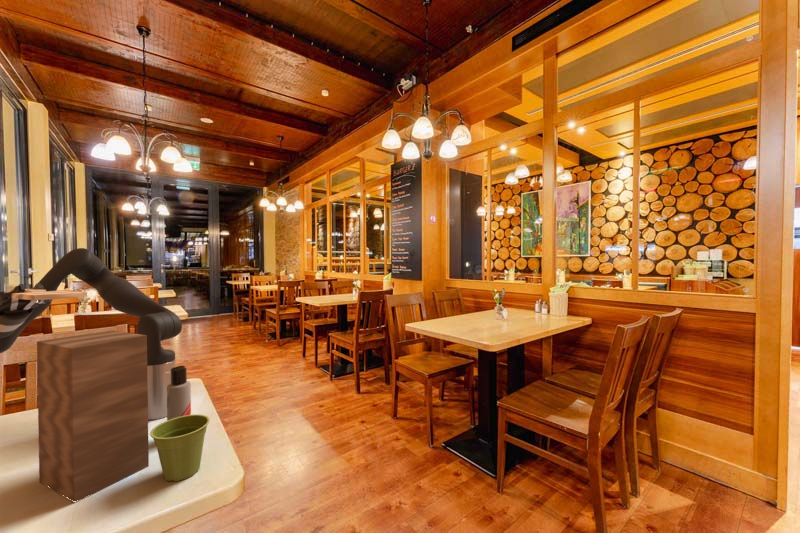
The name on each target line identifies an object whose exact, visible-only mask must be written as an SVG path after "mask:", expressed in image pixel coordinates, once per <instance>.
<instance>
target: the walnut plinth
mask: <svg viewBox="0 0 800 533" xmlns="http://www.w3.org/2000/svg"><path fill="white" fill-rule="evenodd" d="M36 355H37V361H36V364H37V370H36V372H37V411H38V412H37V414H38V415H37V420H38V467H39V468H38V469H39V470H38V472H39V473H38V474H39V478H38V479H39V483H40V484H41V483H42V484H41V485H43V484H45V485H47V486H49V487H50V488H51V489H50V488H49V489H50V490H52V489H53V490H54V492H55V491H56V492H55V493H57V492H58V493H59V495H60V494H61V495H60V496H62V495H64V496H65V497H68V498H69V499H71V500H73V501H77V500H80V499H82V498H84V497H86V496H88V495H90V496H92V495H94V494H97V493H98V492H100V491H102V490H103V489H107V488H108V487H110V486H112V485H114V484H116V483H118V482H120V481H123V480H124V479H127V478H128V477H130V476H132V475H134V474H136V473H139V472H140V471H142V470H144V469H146V468H148V467H149V466H150V463H149V462H150V460H149V456H150V455H149V454H150V453H149V420H148V379H147V335H141V334H137V333H133V332H125V331H120V330H111V329H109V330H104V331H97V332H96V331H95V332H90V333H84V334H79V335H70V336H64V337H58V338H53V339H51V338H50V339H44V340H39V341H36ZM45 485H44V486H45ZM53 490H52V491H53ZM58 493H57V494H58ZM91 494H92V495H91ZM65 497H64V498H65ZM88 497H89V496H88ZM86 498H87V497H86ZM84 499H85V498H84ZM82 500H83V499H82ZM80 501H81V500H80Z"/></svg>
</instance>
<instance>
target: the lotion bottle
mask: <svg viewBox="0 0 800 533" xmlns="http://www.w3.org/2000/svg"><path fill="white" fill-rule="evenodd" d="M187 369H188V368H187V367H186V366H185V365H177V366H175V367H174V368H172V369H171V384H169V385H168V386H167V416H166V421H168V420H171V419H173V418H177V417H181V416H186V415H192V400H191V399H192V394H191V391H192V389H191V387H192V386H191V381H188V378H187V377H188V376H187V374H188V373H187V371H188V370H187Z"/></svg>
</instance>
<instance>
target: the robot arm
mask: <svg viewBox="0 0 800 533" xmlns="http://www.w3.org/2000/svg"><path fill="white" fill-rule="evenodd" d="M70 275H72V276H74V277H75V278H77V279H78V280H80V281H82V282H83V283H86V284H87V285H89V286H91V287H92V288H93V289H94V290H96V291H97V292H98V293H97V294H98V295H99V297H101V299H102V300H103V301H104V302H105V303H107V305H109V306H110V307H111V308H113V309H114V310H116V311H118V312H120V313H123V314H126V315H129V316H133V317H137V318H139V319H138V322H137V325H136V334H141V335H147V379H148V421H149V420H151V421H152V420H153V421H154V420H159V419H163V418H165V417H166V418H167V386H168V385H169V384H171V369H172V368H174V367H176V352H175V351H174V350H172V349H164V348H163V347H162V343H161V342H162V341H166V340H169V339H174V338H176V337H177V336H179V334H180V333H181V332H182V329H183V325H182V324H183V323H182V320H181V318H180V317H179V316H178V315H177V314H176V313H175V312H173V311H172V310H170V309H169V308H167V307H165V306H163V305H161V304H160V303H158V302H156V301H155V300H154V299H152V298H151V297H149V296H148V295H147V294H145V293H144V292H142V290H140V289H139V288H138V287H137V286H135V285H134V284H133V283H132V282H130V281H128V279H125V278H124V277H121V276H117V275H116V274H115V273H113V272H112V271H111V270H110V269H109V268H108V266H107V265H106V264H105V263H104V262H103V261H102V260H101V258H99V257H98V256H97V255H95V254H94V253H93V252H92V251H91V250H89V249H88V248H85V247H84V248H83V247H78V248H75V249H72V250H70V251H69V252H66V254H64V255H63V256H62V257H61V258H60V259H59V260H58V261H57V262H56V263H55V264H54V265H53V266H52V267H51V268H50V269H49V270H48V271H47V273H46V274H45V275H44V276H43V277H42V278H41V279H40V280H39V281H38V282H36V283H35V285H34V286H33V287H32V288H31V289H40V290H46V291H58V289H59V287H60V285H61V283H63V281H64V280H65V279H66V278H67V277H68V276H70ZM25 289H26V287H25V284H24V283H19V284H18V285H16V286H14V288H13V289H12V290H10V291H8V292H7V291H0V354H2V353H5V352H6V351H8V350H9V349H11V347H12V346H13V345H14V343H15V342H16V341H17V339H18V337H19V336H20V334H21V333H22V332H23V331H24V330H25V328H26V327H27V326H28V325H30V324H31V322H33V321H34V320H36V319H37V317H39V316H40V315H41V314H42V313H44V311H46V310H47V308H48V307H49V306H51V304H52V302H53V300H54V299H47V300H25V299H16V298H12V293H24V291H25Z"/></svg>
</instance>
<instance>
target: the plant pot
mask: <svg viewBox="0 0 800 533" xmlns="http://www.w3.org/2000/svg"><path fill="white" fill-rule="evenodd" d="M208 424H210V417H209V416H208V415H205V414H191V415H186V416H181V417H177V418H173V419H171V420H168V421H167V420H165V421H163V422H161V423H159V424H158V425H156V426H154V428H152V429H151V430H150V432H149V436H150V437H151V438H152V439H153V441H154V446H156V451H157V454H158V459H159V462H160V463H159V464H160V467H161V471H162V476H163V478H164V480H166V481H167V482H170V481H174V482H176V481H178V482H179V481H183V480H185V479H187V478H190V477H192V476H193V475H195V474H196V473H197V471H198V470H200V468H201V462H202V455H203V454H202V453H203V447H204V441H205V435H206V433H207V427H208Z"/></svg>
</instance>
